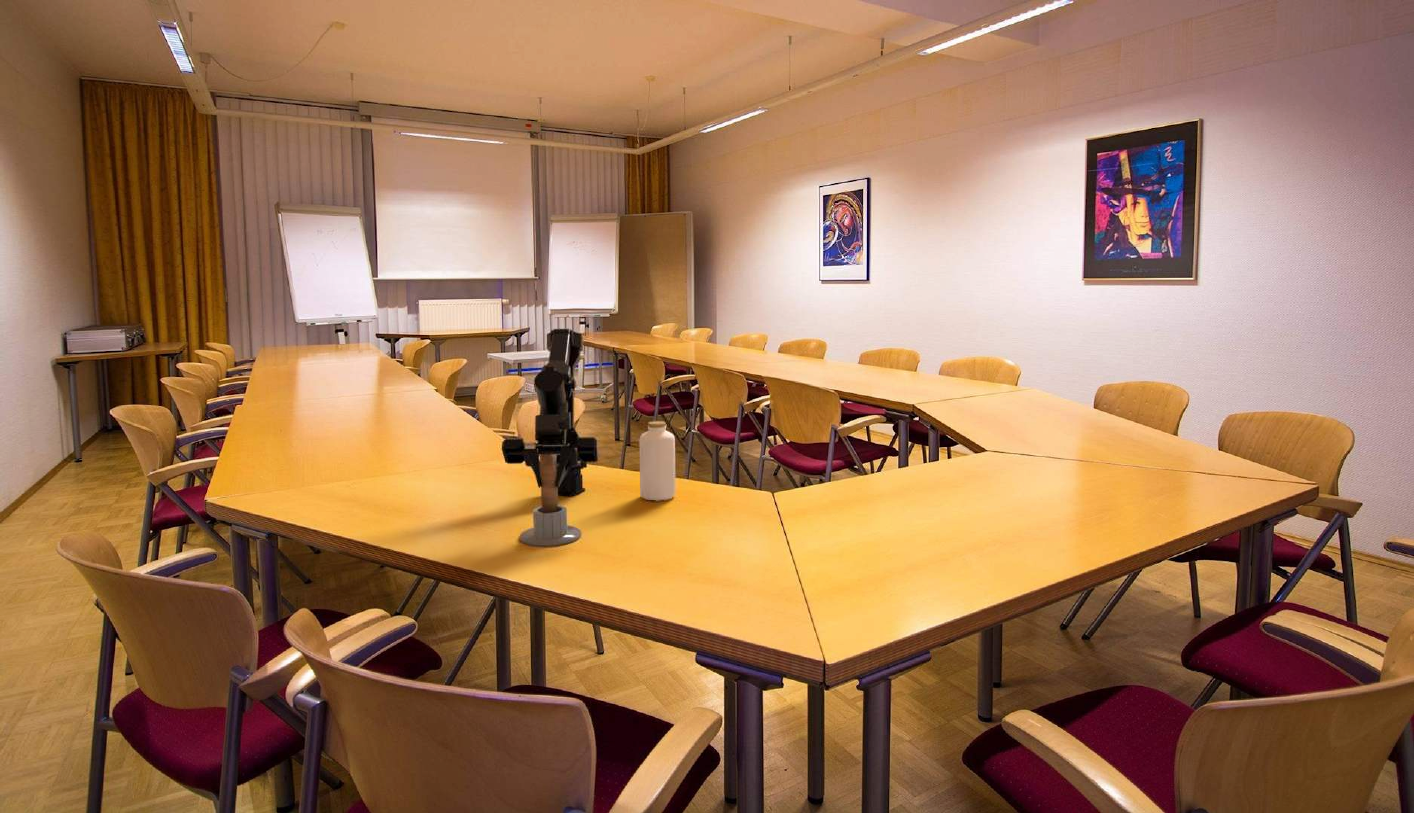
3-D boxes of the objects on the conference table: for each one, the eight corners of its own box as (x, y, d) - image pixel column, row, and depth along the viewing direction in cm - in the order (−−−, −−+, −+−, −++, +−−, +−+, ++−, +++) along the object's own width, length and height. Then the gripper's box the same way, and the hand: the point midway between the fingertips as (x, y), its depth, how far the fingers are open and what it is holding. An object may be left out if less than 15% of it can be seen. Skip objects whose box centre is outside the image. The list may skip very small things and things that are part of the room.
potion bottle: (633, 499, 182) (632, 423, 179) (652, 491, 189) (651, 418, 186) (663, 503, 178) (663, 426, 175) (681, 495, 185) (681, 421, 183)
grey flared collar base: (507, 540, 152) (505, 513, 151) (546, 524, 163) (545, 498, 162) (556, 550, 147) (555, 521, 146) (593, 532, 157) (592, 505, 156)
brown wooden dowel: (539, 516, 154) (537, 454, 152) (554, 513, 156) (552, 452, 154) (545, 519, 152) (543, 457, 150) (561, 517, 154) (559, 455, 152)
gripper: (501, 398, 154) (492, 465, 144) (596, 397, 155) (593, 463, 146) (509, 430, 163) (502, 495, 153) (599, 428, 164) (597, 493, 155)
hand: (548, 486), depth 152 cm, fingers closed on brown wooden dowel, 3 cm apart
